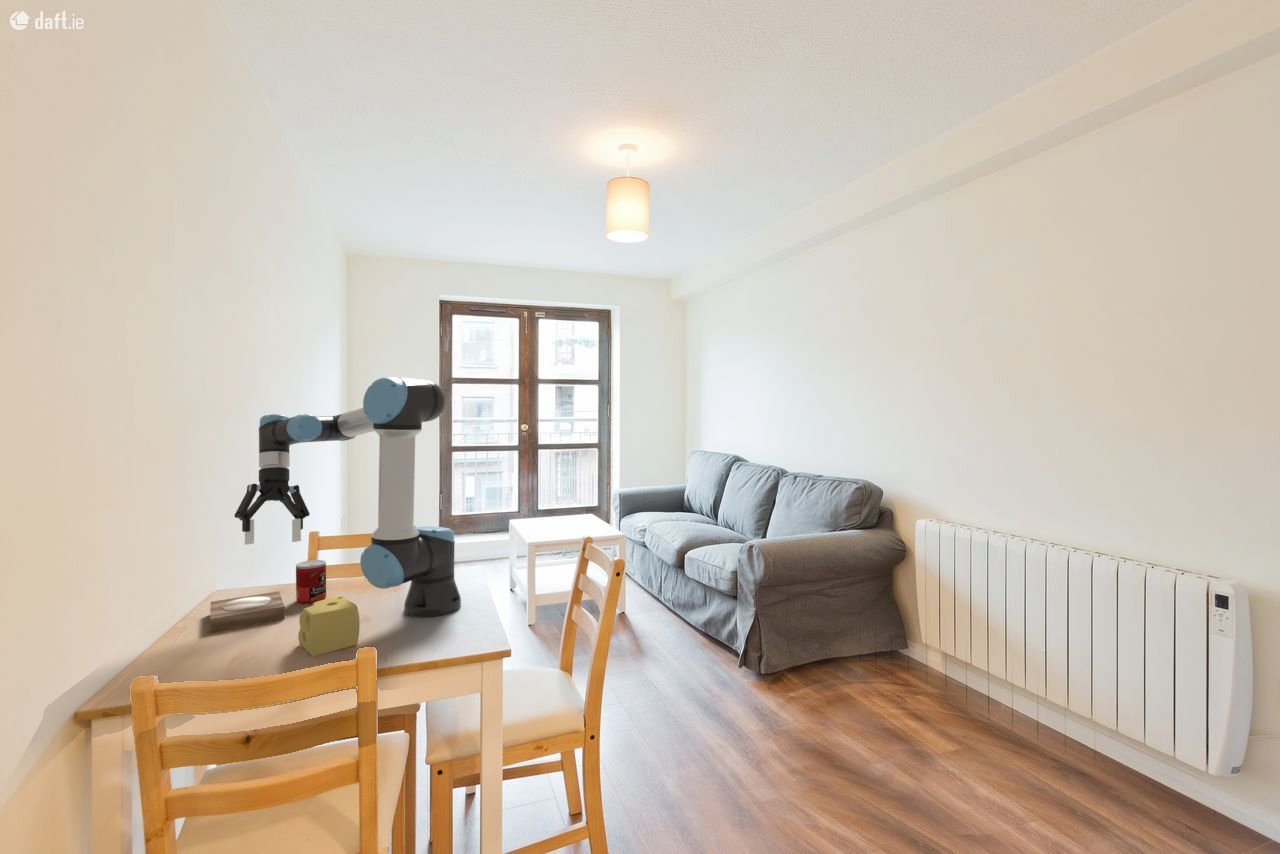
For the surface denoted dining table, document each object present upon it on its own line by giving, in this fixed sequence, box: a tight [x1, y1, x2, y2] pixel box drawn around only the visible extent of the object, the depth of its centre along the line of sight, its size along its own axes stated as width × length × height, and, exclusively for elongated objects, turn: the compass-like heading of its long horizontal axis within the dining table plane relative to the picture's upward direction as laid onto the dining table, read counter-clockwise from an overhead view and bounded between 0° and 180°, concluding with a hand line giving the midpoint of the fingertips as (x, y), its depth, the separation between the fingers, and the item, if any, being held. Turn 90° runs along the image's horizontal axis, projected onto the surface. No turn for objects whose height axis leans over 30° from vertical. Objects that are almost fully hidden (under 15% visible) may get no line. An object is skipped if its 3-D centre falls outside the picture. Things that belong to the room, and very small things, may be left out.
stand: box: [209, 591, 286, 633], centre depth 158 cm, size 16×16×4 cm
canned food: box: [295, 559, 327, 605], centre depth 172 cm, size 8×8×11 cm
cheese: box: [297, 595, 361, 658], centre depth 139 cm, size 10×11×10 cm
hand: (273, 542), depth 164 cm, fingers open, 13 cm apart
